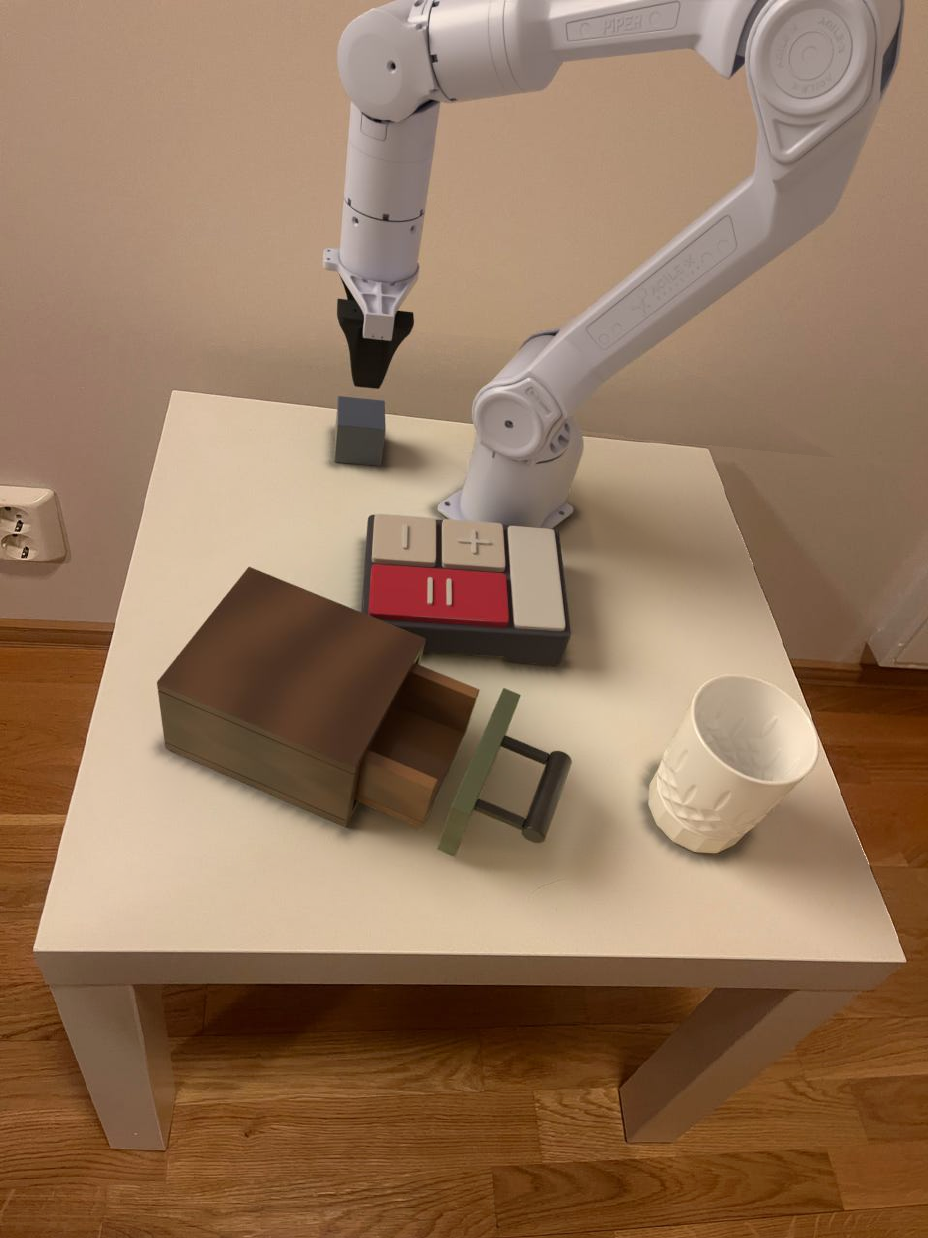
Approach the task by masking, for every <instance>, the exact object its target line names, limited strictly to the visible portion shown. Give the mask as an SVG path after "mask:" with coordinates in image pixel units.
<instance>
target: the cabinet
mask: <svg viewBox="0 0 928 1238" xmlns="http://www.w3.org/2000/svg"><path fill="white" fill-rule="evenodd" d="M425 641H426V639H425V638H423V637H421V636H418V635H416V634H413V633H411V632H408V631H406V630H403V629H401V628H398V627H396V626H394V625H391V624H389V623H386V622H384V621H381V620H379V619H376V618H374V617H371V616H369V615H367V614H364V613H362V612H361V611H359V610H357V609H355V608H352V607H350V606H347V605H344V604H342V603H339V602H337V601H335V600H332V599H330V598H327V597H325V596H322V595H319V594H318V593H315V592H312V591H310V590H307V589H305V588H303V587H301V586H297V585H295V584H293V583H291V582H288V581H285V580H283V579H282V578H278V577H276V576H274V575H271V574H268V573H265V572H263V571H261V570H258V569H256V568H254V567H252V566H248V567H247V568H246V570H245V571H244V572H243V573H242V575H241V576H240V577H239V578H238V579H237V581H236V582H235V583H234V584H233V585H232V587H231V589H229V591H228V592H227V593H226V595H225V596H223V598H222V600H220V602H219V603H218V604H217V606H216V607H215V608H214V610H213V611H212V612H211V613H210V615H209V616H208V617H207V619H206V620H205V621H204V622H203V623H202V625H201V626H200V627H199V628H198V630H196V632H195V633H194V635H193V636H192V637H191V639H190V640H189V641H188V642H187V644H186V645H185V646H184V647H183V648H182V650H181V651H180V652H179V654H177V656H176V657H175V659H174V660H173V661H172V662H171V663H170V665H169V666H168V667H167V668H166V670H165V671H164V672H163V674H162V675H161V676H159V677H160V678H158V680H156V689H157V695H158V703H159V711H160V719H161V726H162V734H163V742H164V748H165V749H166V750H168V751H170V752H172V753H175V754H177V755H180V756H182V757H184V758H185V759H189V760H191V761H192V762H193V761H194V762H195V763H197V764H200V765H202V766H205V767H207V768H209V769H211V770H213V771H216V772H219V773H220V774H222V775H225V776H227V777H230V778H231V779H235V780H237V781H239V782H241V783H243V784H246V785H249V786H250V787H253V788H255V789H257V790H260V791H262V792H264V793H267V794H269V795H271V796H273V797H276V798H278V799H281V800H283V801H285V802H287V803H290V804H291V805H294V806H296V807H298V808H301V809H303V810H306V811H307V812H310V813H312V814H315V815H317V816H319V817H322V818H324V819H325V820H329V821H331V822H333V823H335V824H337V825H340V826H342V827H344V828H346V827H348V824H349V823H350V820H351V819H352V818H353V817H352V816H353V815H354V813H355V811H356V809H357V807H358V806H359V803H360V802H358V801H356V800H354V797H355V791H356V785H357V779H358V773H359V767H360V763H361V762H362V760H363V758H364V756H365V754H366V752H367V750H368V749H369V747H370V745H371V743H372V741H373V739H374V738H375V736H376V734H377V732H378V730H379V728H380V727H381V725H382V723H383V721H384V719H385V717H386V716H387V714H388V712H389V710H390V708H391V706H392V705H393V703H394V701H395V699H396V697H397V695H398V694H399V692H400V690H401V688H402V686H403V684H404V682H405V681H406V679H407V677H408V675H409V673H410V671H411V670H412V668H413V666H414V664H415V663H416V664H419V665H421V662H422V658H423V653H424V652H423V649H424V645H425Z"/></svg>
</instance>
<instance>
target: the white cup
mask: <svg viewBox="0 0 928 1238" xmlns="http://www.w3.org/2000/svg"><path fill="white" fill-rule="evenodd" d="M819 757H820V739H819V735H818V732H817V728H816V726H815V724H814V723H813V720H812V719H811V717H810V716H809V713H808V712H807V711H806V710H805V708H804V707H803V706H802V705H801V704H800V702H798V700H796V699H795V698H794V697H793V696H792V695H791V694H790V693H788V692H787V691H785V690H784V689H782V688H781V687H779V686H777V685H776V684H774V683H772V682H770V681H769V680H766V679H763V678H760V677H757V676H755V675H754V676H753V675H749V674H743V673H725V674H720V675H717V676H715V677H712V678H710V679H708V680H707V681H705V682H704V683H702V684H701V685H700V687H698V689H697V691H696V692H695V694H694V696H693V698H692V699H691V702H690V703H689V706H688V707H687V709H686V711H685V712H684V714H683V716H682V718H681V720H680V721H679V723H678V725H677V727H676V729H675V731H674V733H673V734H672V737H671V739H670V741H669V743H668V745H667V748H666V749H665V751H664V753H663V755H662V758H661V761H660V763H659V766H658V769H657V771H656V772H655V774H654V775H653V778H652V779H651V781H650V783H649V785H648V786H649V787H648V797H647V798H648V801H647V805H648V808H649V811H650V813H651V815H652V818H653V820H654V822H655V824H656V826H657V827H658V828H659V829H660V830H661V832H663V834H664V835H666V836H667V838H668V839H670V840H671V841H672V842H673V843H675V844H677V845H679V846H681V847H683V848H684V849H687V850H689V851H691V852H694V853H705V854H718V853H720V852H723V851H725V850H727V849H729V848H731V847H734V846H735V845H736V844H737V843H738V842H739V841H740V840H741V839H742V838H743V837H744V836H745V835H746V834H747V833H748V832H749V831H750V830H752V829H753V828H755V827H756V826H757V825H758V824H760V822H761V821H763V819H764V818H765V817H766V816H768V815H769V814H770V813H771V812H773V810H774V809H775V808H776V807H777V806H778V805H779V804H780V803H781V802H782V801H783V800H784V799H785V798H786V797H787V796H788V795H790V793H791V792H792V791H793V790H794V789H795V788H796V787H798V785H800V783H801V782H802V781H803V780H805V778H806V777H808V775H810V773H811V772H812V771H813V770H814V768H815V766H816V764H817V763H818V761H819Z"/></svg>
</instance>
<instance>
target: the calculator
mask: <svg viewBox="0 0 928 1238" xmlns="http://www.w3.org/2000/svg"><path fill="white" fill-rule="evenodd" d="M366 523H367V524H366V535H365V536H366V537H365V551H364V552H365V553H364V564H363V565H364V569H363V579H362V580H363V581H362V594H361V595H362V596H361V609H360V612H362V613H364V614H367V615H369V616H371V617H374V618H376V619H379V620H381V621H384V622H386V623H389V624H391V625H394V626H396V627H398V628H401V629H403V630H406V631H408V632H411V633H413V634H416V635H418V636H421V637H423V638H425V639H426V641H425V645H424V649H423V653H433V654H446V655H447V654H448V655H465V656H479V657H495V658H503V659H505V661H509V662H510V663H515V664H529V665H544V666H545V665H546V666H559V665H561V663H562V661H563V659H564V655H565V652H566V650H567V647H568V645H569V642H570V638H571V636H572V635H571V634H572V630H571V621H570V613H569V612H570V611H569V605H568V597H567V596H568V595H567V589H566V588H567V587H566V579H565V572H564V563H563V555H562V553H563V552H562V547H561V545H562V544H561V539H560V532H559V531H558V529H556V528H541V527H528V526H515V525H503V524H500V523H491V522H479V521H466V520H453V519H448V518H445V519H437V518H434V517H425V516H415V515H414V516H412V515H401V514H389V513H388V514H387V513H376V514H370V515H369V516H368V517H367V522H366Z"/></svg>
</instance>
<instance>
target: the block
mask: <svg viewBox="0 0 928 1238" xmlns="http://www.w3.org/2000/svg"><path fill="white" fill-rule="evenodd" d="M335 415H336V417H335V426H334V427H335V428H334V450H333V451H334V457H333V461H334V463H341V464H353V465H363V466H364V465H366V466H375V467H380V466H381V465H382V460H383V454H384V453H383V451H384V446H385V445H384V444H385V438H386V431H387V426H386V401H385V400H382V399H374V398H373V399H372V398H362V397H352V396H342V395H338V396H337V403H336V414H335Z"/></svg>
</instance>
